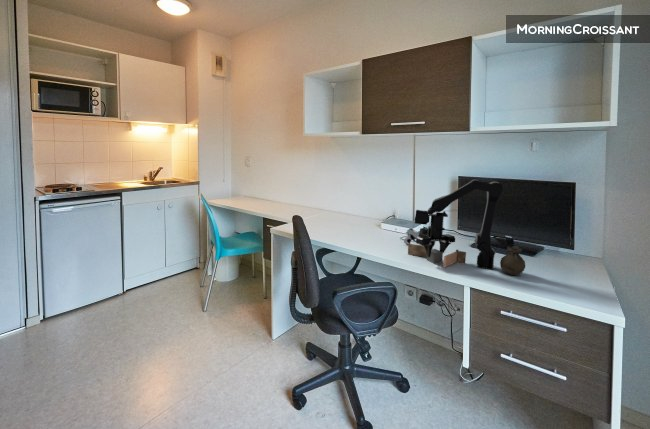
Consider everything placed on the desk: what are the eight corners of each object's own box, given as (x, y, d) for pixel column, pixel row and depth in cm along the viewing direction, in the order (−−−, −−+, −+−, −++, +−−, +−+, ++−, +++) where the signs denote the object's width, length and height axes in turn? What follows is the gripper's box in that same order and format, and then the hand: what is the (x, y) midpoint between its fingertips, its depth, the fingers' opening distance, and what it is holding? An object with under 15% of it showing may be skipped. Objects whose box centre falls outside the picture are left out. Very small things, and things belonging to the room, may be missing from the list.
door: (454, 261, 167) (455, 251, 166) (456, 261, 166) (457, 251, 165) (443, 266, 159) (444, 256, 158) (445, 267, 159) (446, 256, 158)
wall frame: (465, 262, 166) (466, 250, 165) (464, 263, 164) (465, 251, 163) (408, 253, 180) (409, 242, 179) (407, 254, 179) (408, 243, 177)
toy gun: (428, 256, 188) (435, 240, 185) (402, 242, 197) (407, 227, 194) (430, 255, 190) (436, 239, 186) (403, 242, 199) (409, 226, 195)
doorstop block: (426, 260, 170) (427, 249, 169) (434, 259, 171) (435, 248, 170) (434, 264, 164) (434, 252, 163) (442, 263, 165) (442, 252, 164)
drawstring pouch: (515, 269, 156) (518, 244, 154) (529, 277, 147) (532, 250, 145) (495, 270, 156) (497, 244, 154) (506, 277, 147) (509, 250, 144)
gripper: (442, 220, 175) (440, 250, 177) (410, 223, 169) (408, 253, 172) (457, 225, 164) (454, 256, 167) (423, 227, 158) (421, 260, 161)
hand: (434, 256), depth 167 cm, fingers open, 6 cm apart
